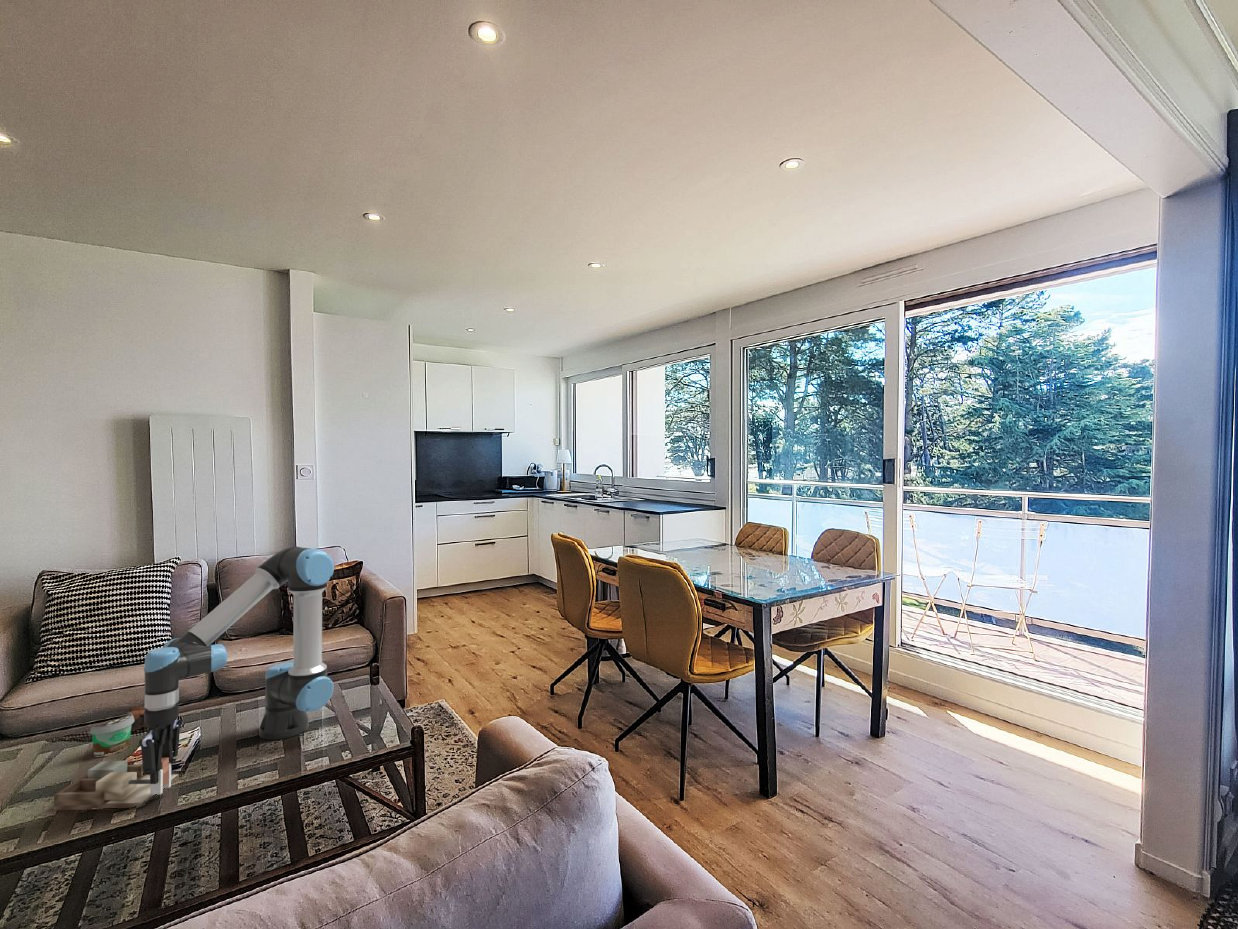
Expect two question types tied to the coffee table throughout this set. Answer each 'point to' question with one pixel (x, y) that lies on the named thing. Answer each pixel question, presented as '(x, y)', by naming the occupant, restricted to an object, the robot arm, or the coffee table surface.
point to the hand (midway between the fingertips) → (160, 790)
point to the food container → (112, 735)
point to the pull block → (126, 782)
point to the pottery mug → (137, 718)
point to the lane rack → (86, 797)
